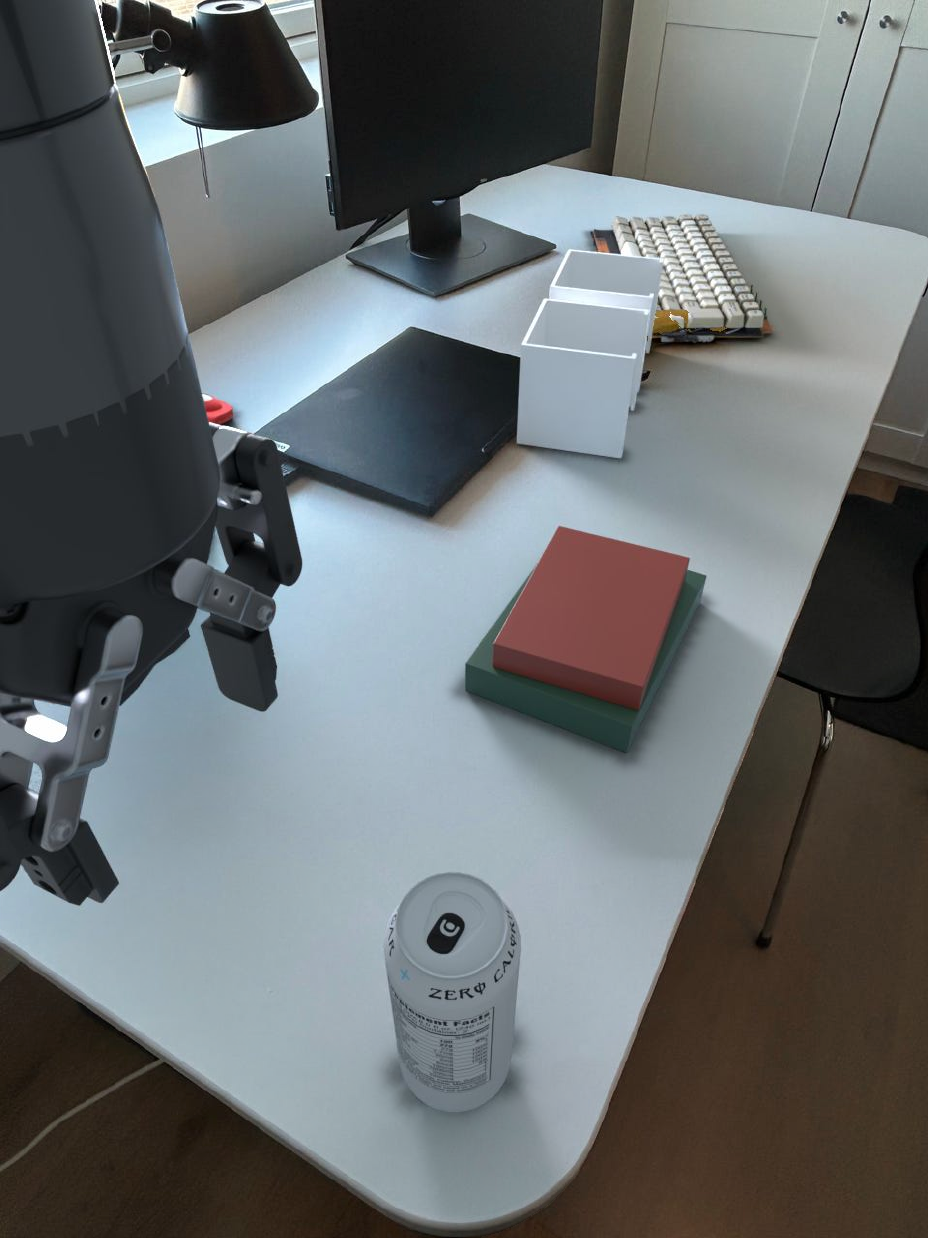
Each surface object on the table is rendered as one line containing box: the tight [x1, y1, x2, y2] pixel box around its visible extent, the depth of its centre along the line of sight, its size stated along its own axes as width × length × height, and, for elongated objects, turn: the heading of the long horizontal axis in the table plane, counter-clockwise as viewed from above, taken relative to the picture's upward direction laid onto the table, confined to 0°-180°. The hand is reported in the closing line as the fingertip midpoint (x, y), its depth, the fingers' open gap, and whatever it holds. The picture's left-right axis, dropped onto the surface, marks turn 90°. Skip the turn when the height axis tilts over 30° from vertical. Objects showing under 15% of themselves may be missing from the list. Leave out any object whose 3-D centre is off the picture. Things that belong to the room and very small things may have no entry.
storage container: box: [516, 248, 664, 459], centre depth 96 cm, size 25×11×11 cm, turn 165°
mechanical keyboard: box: [589, 213, 774, 344], centre depth 121 cm, size 38×19×3 cm, turn 1°
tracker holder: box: [202, 392, 234, 425], centre depth 93 cm, size 12×4×10 cm
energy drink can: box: [383, 871, 522, 1113], centre depth 42 cm, size 6×6×15 cm
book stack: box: [464, 525, 708, 754], centre depth 69 cm, size 18×13×6 cm
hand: (176, 782), depth 30 cm, fingers open, 8 cm apart
